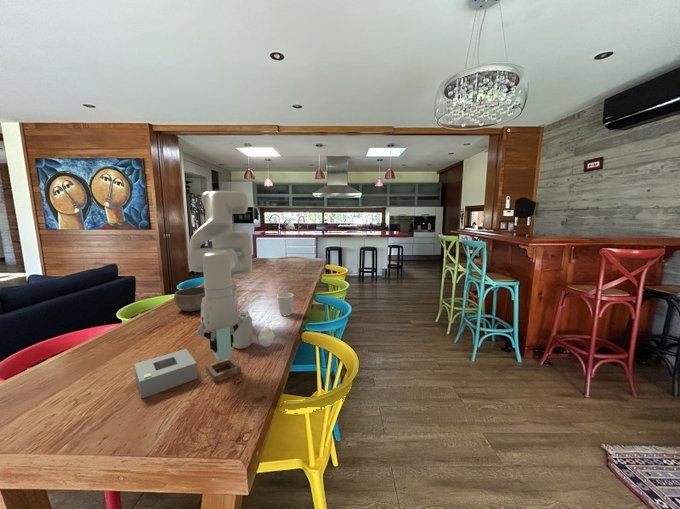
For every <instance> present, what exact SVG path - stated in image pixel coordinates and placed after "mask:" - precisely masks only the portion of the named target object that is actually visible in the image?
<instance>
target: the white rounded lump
mask: <svg viewBox="0 0 680 509" xmlns="http://www.w3.org/2000/svg"><path fill="white" fill-rule="evenodd" d="M257 338H258V341H259V343H260V344H261V346H262V347H270V346H271V345H272V344H273V341H274V340H275V333H274V332H273V331H272V329H271V328H270V327H263V328H262V329H261V331H260V332H259V334H258V336H257Z"/></svg>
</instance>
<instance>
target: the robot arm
mask: <svg viewBox="0 0 680 509" xmlns="http://www.w3.org/2000/svg"><path fill="white" fill-rule="evenodd" d="M200 196H201V202H202V206H203V208H204V210H205V218H204V219H205V220H204V222H205V223H203V224H202V225H200V226H199V227H198V228H197V230H195V232H194V233H193V234H192V235H191V237H190V240H189V243H188V244H189V245H188V255H187V256H188V257H187V258H188V259H187V261H188V262H187V263H188V266H189V269H190V270H191V271H193V272H196V273H203V283H204V284H203V287H205V297H203V298H202V304H201V310H200V324H199V326H198V328H197V330H196V331H195V332H196V335H197V336H200V337H203V338H207V340H209V347H210V350H212V351H213V353H214V352H215V353H216V352H217V341H216V339H215V334H216V330H218V329H222V328H226V327H229V326H230V337H231V348H233V345H232V343H234V339H233V335H234V334H235V331H236V330H237V328H238V326H240V325H241V324H242V323H243V320H242V319H241V318H240V316H239V315H238V313H248V314H249V315H250V312H249V310H246V311H244V310H240V311H239V303H238V302H239V300H238V299H239V298H238V286H237V283H236V282H235V280H234V279H232V277H234V276H235V277H236V276H248V275H250V274H251V273H252V271H253V253H252V238H251V235H250V233H249V232H247V231H246V230H234V229H233V228H234V227H233V226H234V225H233V219H232V215H233V214H239V215H240V214H247V212H248V209H249V208H248V207H249V201H248V197H247V195H246V192H244V191H240V190H239V191H237V190H207V191H204V192H202V194H201V195H200ZM210 240H212V246H213V247H207V248H206V247H203V248H201V246H202V245H204V244H205V243H206V242H208V241H210ZM237 253H241V254H237Z"/></svg>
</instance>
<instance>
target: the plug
mask: <svg viewBox="0 0 680 509" xmlns="http://www.w3.org/2000/svg"><path fill="white" fill-rule="evenodd" d="M215 339H216V341H217V352H216V353H215V352H214V351H213V356H214V358H216V360H217V362H218V361H221V360H224V359H227V358H230V357H232V347H231V337H230V326H229V327H226V328H222V329H218V330H216V334H215Z"/></svg>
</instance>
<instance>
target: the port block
mask: <svg viewBox="0 0 680 509" xmlns="http://www.w3.org/2000/svg"><path fill="white" fill-rule="evenodd" d="M197 365H198V363H197V361H195V359H194V357H193V356H192V355H191V353H190V352H189V350H188V349H187V348H184V349H181V350H177V351H174V352H169V353H168V354H167V353H166V354H163V355H160V356H157V357H153V358H150V359H146V360H143V361H139V362H136V363H134V364H133V368H134V374H135V381H136V385H137V390H138V392H139V396H140V399H141V400H142V399H144V398H145V399H146V398H147V397H150V396H153V395H156V394H158V393H161V392H164V391H167V390H169V389H172V388H175V387H177V386H180V385H183V384H185V383H189V382H191V381H193V380H194V381H195V380H196V379H199V374H198V366H197Z"/></svg>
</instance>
